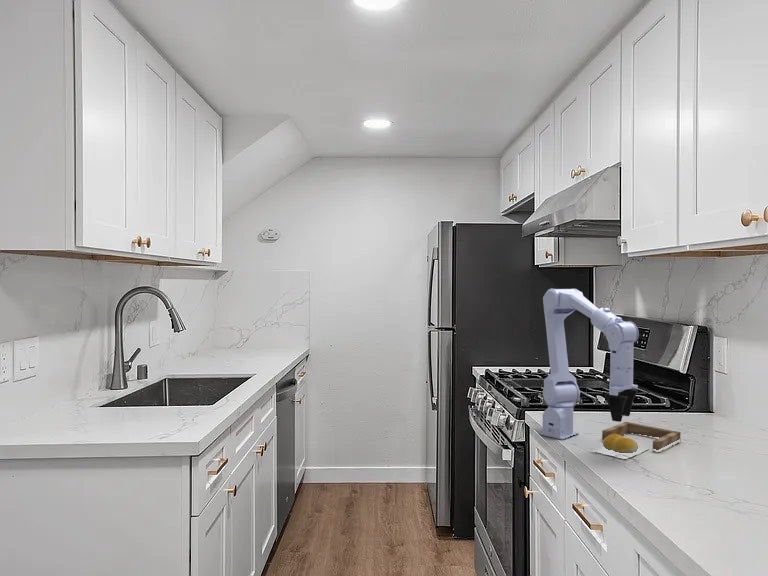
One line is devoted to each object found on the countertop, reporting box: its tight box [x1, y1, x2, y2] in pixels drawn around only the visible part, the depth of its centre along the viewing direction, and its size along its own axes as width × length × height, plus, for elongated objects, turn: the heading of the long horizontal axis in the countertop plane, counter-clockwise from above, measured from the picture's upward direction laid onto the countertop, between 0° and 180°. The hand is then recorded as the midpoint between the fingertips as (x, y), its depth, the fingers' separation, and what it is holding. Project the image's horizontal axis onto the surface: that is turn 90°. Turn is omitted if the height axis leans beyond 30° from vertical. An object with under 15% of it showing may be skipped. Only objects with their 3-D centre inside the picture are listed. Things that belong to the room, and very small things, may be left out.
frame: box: [601, 421, 681, 450], centre depth 178 cm, size 15×16×3 cm
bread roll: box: [602, 434, 639, 453], centre depth 168 cm, size 8×9×4 cm
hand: (621, 418), depth 163 cm, fingers open, 7 cm apart
